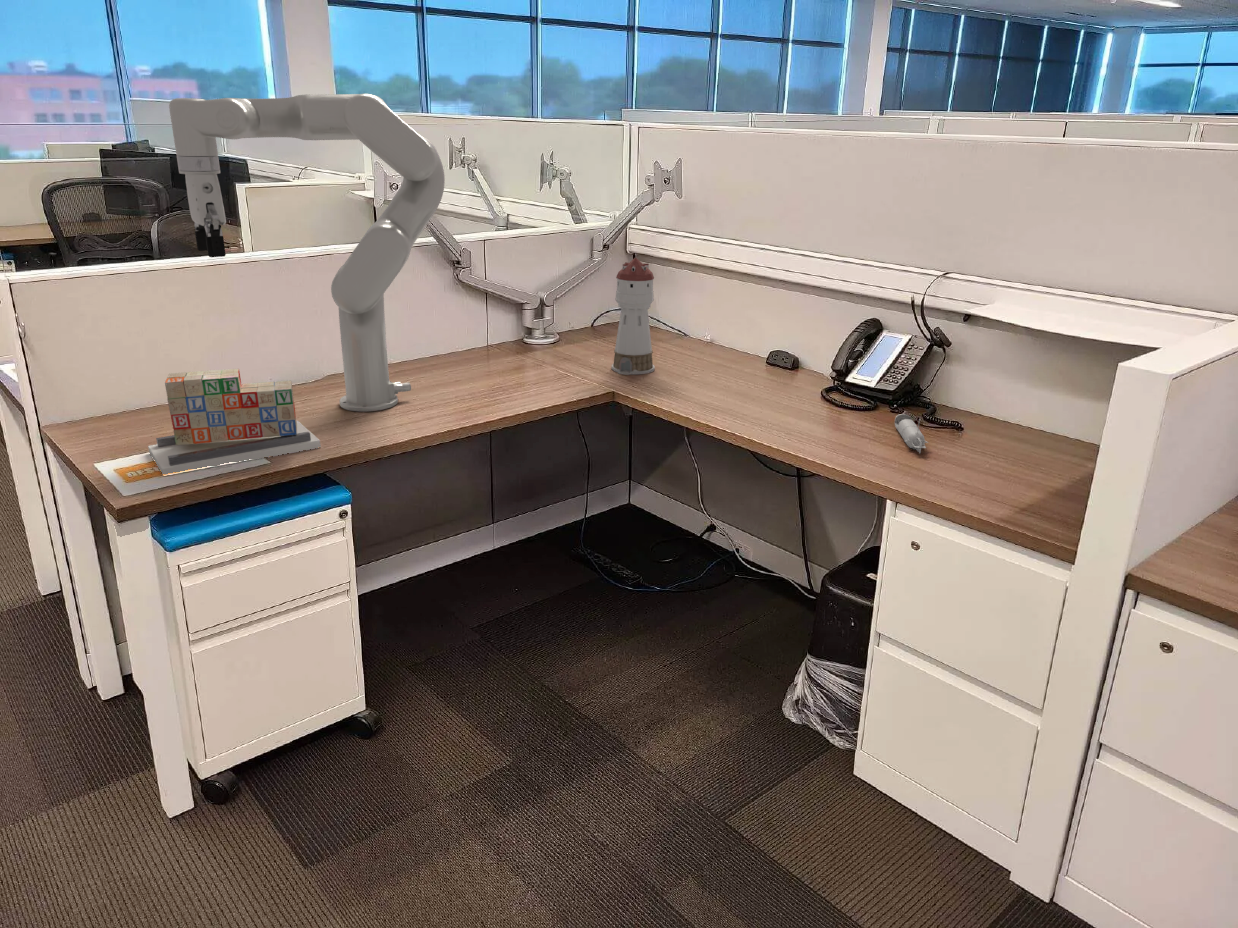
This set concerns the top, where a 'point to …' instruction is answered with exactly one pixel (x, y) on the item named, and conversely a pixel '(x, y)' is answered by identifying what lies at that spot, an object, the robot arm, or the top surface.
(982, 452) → the top surface
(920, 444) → the torpedo
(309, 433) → the base board
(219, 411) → the stack of blocks
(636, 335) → the miniature model
